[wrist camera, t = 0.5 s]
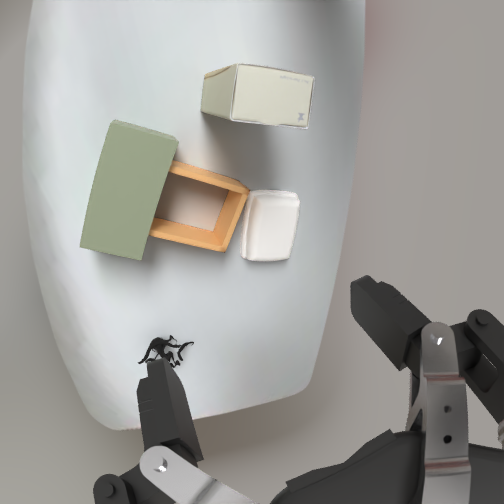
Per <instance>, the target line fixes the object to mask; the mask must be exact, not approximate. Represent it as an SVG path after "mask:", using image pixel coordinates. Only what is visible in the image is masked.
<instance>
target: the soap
mask: <svg viewBox="0 0 504 504" xmlns="http://www.w3.org/2000/svg"><path fill="white" fill-rule="evenodd" d="M299 208H300V201H299V200H298V195H297V194H295V193H293V192H288V191H282V190H280V191H276V190H254V191H251V192H249V194H248V198H247V202H246V206H245V211H244V216H243V223H242V230H241V244H240V254H241V256H242V257H243V258H244V259H248V260H250V261H278V260H284V259H289V257H290V254H291V250H292V247H293V243H294V239H295V234H296V229H297V223H298V217H299Z"/></svg>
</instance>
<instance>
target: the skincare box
mask: <svg viewBox="0 0 504 504" xmlns="http://www.w3.org/2000/svg"><path fill="white" fill-rule="evenodd" d="M314 82H315V78H314V77H313V76H310V75H306V74H303V73H299V72H294V71H290V70H285V69H279V68H274V67H268V66H261V65H253V64H244V63H237V64H234V65H231V66H227V67H225V68H221V69H218V70H215V71H212V72H210V73H207V74H205V78H204V84H203V92H202V101H201V112H203V113H207V114H210V115H214V116H217V117H221V118H224V119H227V120H230V121H236V122H245V123H254V124H262V125H271V126H281V127H290V128H300V129H308V125H309V120H310V113H311V106H312V99H313V91H314Z"/></svg>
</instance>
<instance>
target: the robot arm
mask: <svg viewBox="0 0 504 504" xmlns="http://www.w3.org/2000/svg"><path fill="white" fill-rule="evenodd" d="M350 287H351V312H352V315H353V317H354V319H355V320H356V321H357V323H358V324H359V325H360V326H361V327H362V328H363V329H364V331H365V332H366V333H367V334H368V335H369V336H370V338H372V340H373V341H374V342H375V343H376V344H377V346H378V347H379V348H380V349H381V350H382V351H383V352H384V354H385V355H386V356H387V357H388V358H389V360H390V361H391V362H392V363H393V364H394V366H395V367H396V368H397V369H398V370H399V371H401V370H402V369H404V368H405V367H408V368H409V369H410V370H411V371H410V394H409V395H410V396H409V413H408V418H407V422H406V429H405V431H402V432H397V433H392V431H391V430H390V429H389V430H387V431H385V432H384V433H382V434H381V435H379V436H377V437H376V438H374V439H372V440H370V441H369V442H367V443H366V444H364V445H363V446H362V447H361V448H360V449H359V450H358V451H357V452H356V453H355V454H353V455H352V456H351V457H350V458H349V459H348V460H347V461H345V462H344V463H341V464H338V465H334V466H330V467H325V468H320V469H316V470H312V471H310V472H307V473H305V474H303V475H301V476H298V477H296V478H294V479H291V480H289V481H286V484H287V487H286V488H285V489H283V490H282V491H281V492H280V493H279V494H277V495H276V497H275V498H274V499H273V500H272V501H271V503H270V504H504V326H503V325H502V324H501V323H500V322H499V321H498V320H497V319H496V318H495V317H494V316H493V315H492V314H491V313H490V312H488V311H486V310H481V309H478V310H474V311H472V312H471V313H470V314H469V316H468V318H467V321H466V322H462V323H459V324H455V325H452V326H448V325H446V324H444V323H441V322H431V321H430V320H429V319H428V318H427V317H426V316H425V315H424V314H423V313H422V312H420V311H419V310H418V309H417V308H416V307H415V306H414V305H413V304H412V303H411V302H410V301H407V299H406V298H405V297H404V296H403V295H401V294H400V292H399V291H398V290H396V289H395V288H394V287H393V286H391V285H389V284H387V283H384V282H382V281H381V282H379V283H376V281H374V280H373V279H372V278H371V277H370V276H368V275H366V276H364V277H361V278H359V279H357V280H355V281H353V282H351V286H350ZM483 354H484V355H485V356H486V357H487V358H486V357H485V356H484V355H483ZM489 361H490V362H491V363H492V364H493V365H494V366H495V367H494V366H493V365H492V364H491V363H490V362H489ZM147 371H148V377H146V378H143V379H140V382H139V385H138V388H137V399H138V404H139V405H138V407H139V412H140V414H139V415H140V422H141V429H142V435H143V441H144V454H143V455H142V457H141V459H140V462H139V464H138V465H137V466H135V467H134V468H133V469H131V470H129V471H128V472H126V473H124V474H122V475H121V476H119V477H118V476H116V475H113V474H106V475H103V476H101V477H100V478H99V479H98V480H97V481H96V482H95V485H94V488H93V494H94V499H95V504H174V503H176V502H177V503H179V504H259V503H257V502H255V501H253V500H251V499H249V498H248V497H246V496H244V495H242V494H240V493H238V492H237V491H235V490H233V489H232V488H230V487H228V486H226V485H225V484H223V483H221V482H220V481H217V480H216V479H214V478H212V477H210V476H209V475H207V474H205V473H204V472H202V471H201V470H199V469H198V465H197V462H198V461H201V460H203V459H204V458H203V455H202V452H201V449H200V445H199V442H198V439H197V435H196V431H195V428H194V424H193V420H192V417H191V413H190V409H189V405H188V402H187V398H186V394H185V390H184V387H183V385H182V383H181V381H180V379H179V377H178V376H177V374H176V373H175V371H174V370H173V368H172V367H171V365H170V364H169V362H168V361H167V359H166V358H165V357H164V358H161V359H158V360H155V361H152V362H149V363H147ZM465 382H466V383H465ZM466 384H468V386H469V387H470V388H471V390H472V391H473V392H474V393H475V394H476V396H477V397H478V398H479V400H480V401H481V402H482V403H483V405H484V406H485V407H486V409H487V410H488V411H489V413H490V414H491V415H492V416H493V418H494V419H495V420H496V422H497V423H498V424H499V426H498V441H499V442H500V443H501V444H502V449H497V448H492V447H486V446H481V445H476V444H471V443H468V411H467V395H466Z"/></svg>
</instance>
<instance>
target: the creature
mask: <svg viewBox="0 0 504 504" xmlns="http://www.w3.org/2000/svg"><path fill="white" fill-rule="evenodd" d="M171 337H172V336H171V335H170V339H169V340H163V339H162V338H159V337H157V338H155V339H153V340H152V342H151V343H150V346H149V348H148V350H147V352H146V355H145V357H144V358H143V359H142V361H140V362H138V364H141V363H143V362H144V361H145V360H146V359H147V358H148V356H149V353H150V351H151V349H152V351H153V348H154V349H155V350H157V353H158V354H159V355H160V356H161V357H162V358H164V357H165V358H166V359H167V361H169V362H170V359H171V357H172V359H173V361H174V357H173V353H172V352H171V351H169V352H168V353H167V354H165V353H164V348H165V346H166V345H168V346H170V347H173V348H179V347H180V346H181V347H180V349H179V351H178V352H177V354H178V358H179V359H180V360H181V361H183V359H182V357H181V355H180V352H181V351H182V350H183V349H184V347H185V346H186V345H188V344H190V343H193V344H194V342H188V343H184V344H183V345H172V344H170V343H169V341H170V340H171ZM172 338H173V337H172ZM173 339H174V338H173ZM174 340H175V339H174ZM176 342H177V340H176ZM193 344H192V345H193ZM154 352H155V351H154ZM158 354H157V355H158ZM156 357H157V356H156ZM156 357H155V359H156ZM155 359H152V358H149V359H147V360H146V361H145V363H147V362H148V361H151V362H152V361H155ZM174 363H175V361H174ZM169 364H170V365H171V367H173V368H175V366H176V365H179V366H180V363H179V361H178V360H176V363H175V366H174V365H173V364H172V363H169Z"/></svg>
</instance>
